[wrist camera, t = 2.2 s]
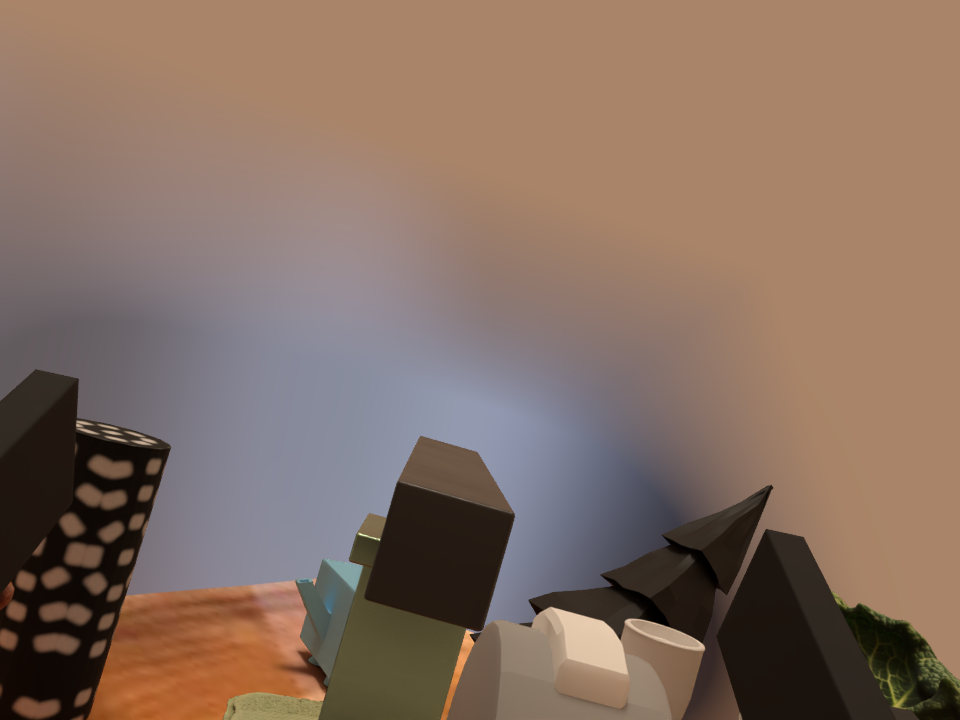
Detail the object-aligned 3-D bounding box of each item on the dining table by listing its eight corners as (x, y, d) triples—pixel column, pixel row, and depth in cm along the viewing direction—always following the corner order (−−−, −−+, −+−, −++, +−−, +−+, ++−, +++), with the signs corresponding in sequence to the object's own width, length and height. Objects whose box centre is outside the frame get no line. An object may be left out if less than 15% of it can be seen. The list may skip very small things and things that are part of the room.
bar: (482, 633, 21) (516, 513, 21) (362, 600, 21) (397, 479, 21) (461, 511, 43) (478, 452, 43) (402, 494, 43) (419, 435, 43)
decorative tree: (601, 860, 71) (864, 561, 81) (503, 742, 66) (795, 440, 76) (517, 769, 84) (752, 522, 94) (431, 665, 79) (688, 417, 89)
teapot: (254, 637, 90) (286, 530, 91) (411, 658, 98) (439, 560, 99) (292, 703, 76) (329, 576, 76) (472, 722, 84) (504, 606, 84)
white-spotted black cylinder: (25, 671, 67) (103, 420, 68) (113, 711, 65) (193, 450, 66) (-67, 698, 59) (23, 413, 60) (30, 744, 57) (122, 447, 58)
